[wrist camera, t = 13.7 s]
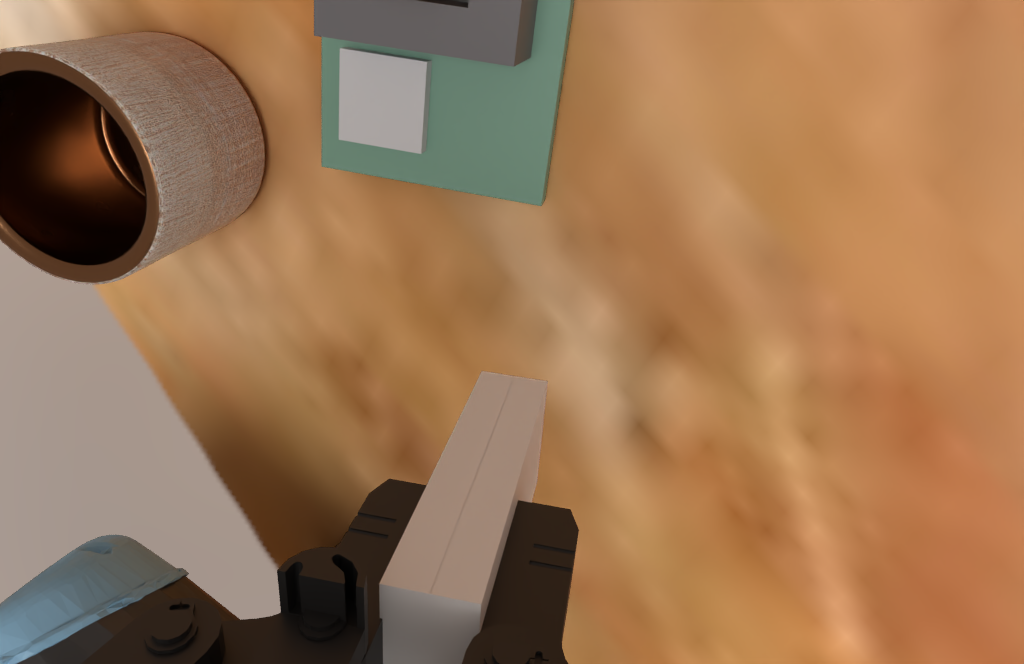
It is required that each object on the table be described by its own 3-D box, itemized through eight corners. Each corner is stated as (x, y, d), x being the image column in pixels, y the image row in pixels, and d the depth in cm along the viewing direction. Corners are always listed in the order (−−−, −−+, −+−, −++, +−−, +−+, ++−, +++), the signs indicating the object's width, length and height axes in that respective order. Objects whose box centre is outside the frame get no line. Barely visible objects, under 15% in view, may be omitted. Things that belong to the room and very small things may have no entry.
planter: (96, 1, 38) (-67, 7, 30) (284, 70, 38) (172, 97, 30) (92, 189, 44) (-49, 240, 35) (257, 252, 43) (155, 319, 35)
